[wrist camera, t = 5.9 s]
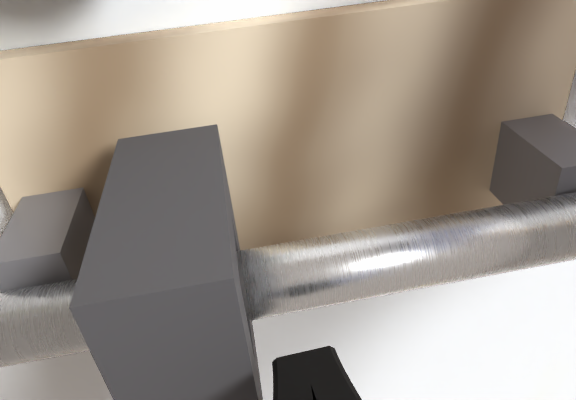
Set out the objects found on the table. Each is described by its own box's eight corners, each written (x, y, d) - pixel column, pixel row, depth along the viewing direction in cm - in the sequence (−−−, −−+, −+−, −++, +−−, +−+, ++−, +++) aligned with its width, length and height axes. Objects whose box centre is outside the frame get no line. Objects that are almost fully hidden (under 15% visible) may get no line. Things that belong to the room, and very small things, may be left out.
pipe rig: (577, -25, 16) (776, 22, 11) (514, 250, 23) (616, 365, 17) (-46, 56, 14) (-193, 163, 9) (84, 328, 21) (46, 485, 16)
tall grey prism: (216, 124, 15) (233, 278, 9) (247, 289, 19) (272, 470, 13) (117, 138, 14) (69, 307, 9) (169, 303, 18) (159, 494, 13)
